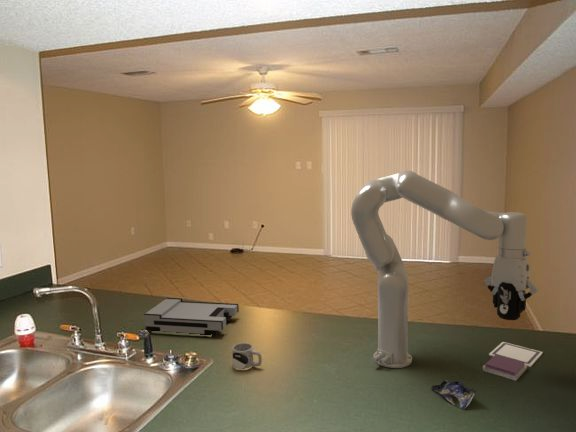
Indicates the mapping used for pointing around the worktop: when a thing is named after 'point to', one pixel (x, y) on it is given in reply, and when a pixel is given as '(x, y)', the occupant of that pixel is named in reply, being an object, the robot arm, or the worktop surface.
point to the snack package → (455, 392)
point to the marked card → (517, 353)
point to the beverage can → (508, 301)
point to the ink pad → (505, 367)
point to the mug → (244, 356)
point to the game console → (189, 316)
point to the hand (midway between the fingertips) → (508, 308)
